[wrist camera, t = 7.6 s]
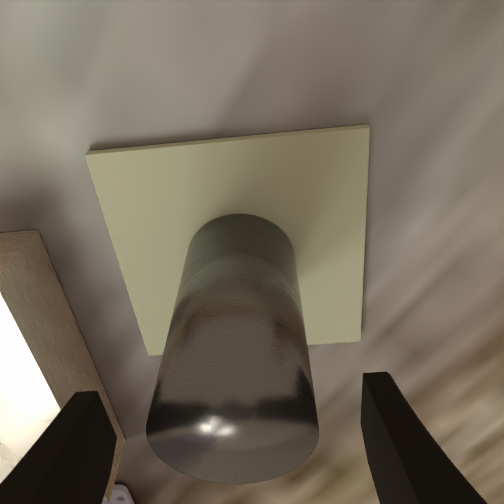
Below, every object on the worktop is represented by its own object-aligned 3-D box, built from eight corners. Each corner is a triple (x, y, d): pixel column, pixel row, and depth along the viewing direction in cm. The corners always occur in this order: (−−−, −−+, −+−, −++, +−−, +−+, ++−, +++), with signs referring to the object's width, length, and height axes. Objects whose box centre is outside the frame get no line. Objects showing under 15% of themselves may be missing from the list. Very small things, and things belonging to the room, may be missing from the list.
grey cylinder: (294, 301, 19) (315, 482, 12) (193, 304, 19) (160, 485, 13) (295, 211, 17) (322, 375, 10) (180, 215, 17) (131, 379, 10)
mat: (358, 335, 21) (360, 341, 20) (150, 349, 21) (148, 355, 21) (367, 124, 15) (370, 127, 15) (87, 151, 16) (84, 155, 16)
